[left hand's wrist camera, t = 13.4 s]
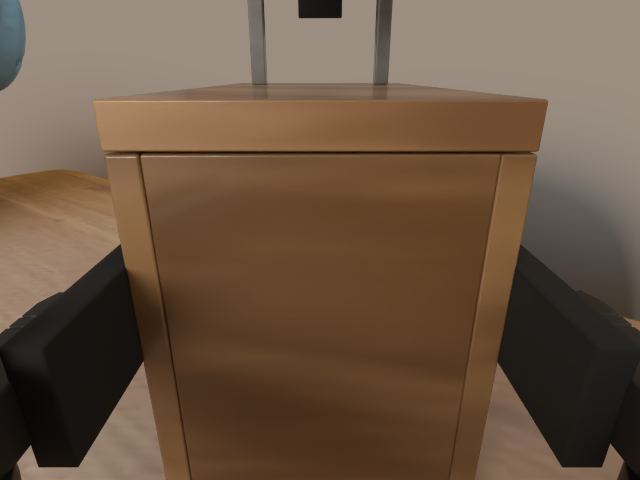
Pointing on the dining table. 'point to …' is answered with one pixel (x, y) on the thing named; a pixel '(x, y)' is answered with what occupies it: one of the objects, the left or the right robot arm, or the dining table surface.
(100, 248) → the dining table surface
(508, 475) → the dining table surface
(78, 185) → the dining table surface
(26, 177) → the dining table surface
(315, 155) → the chest
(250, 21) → the lid
